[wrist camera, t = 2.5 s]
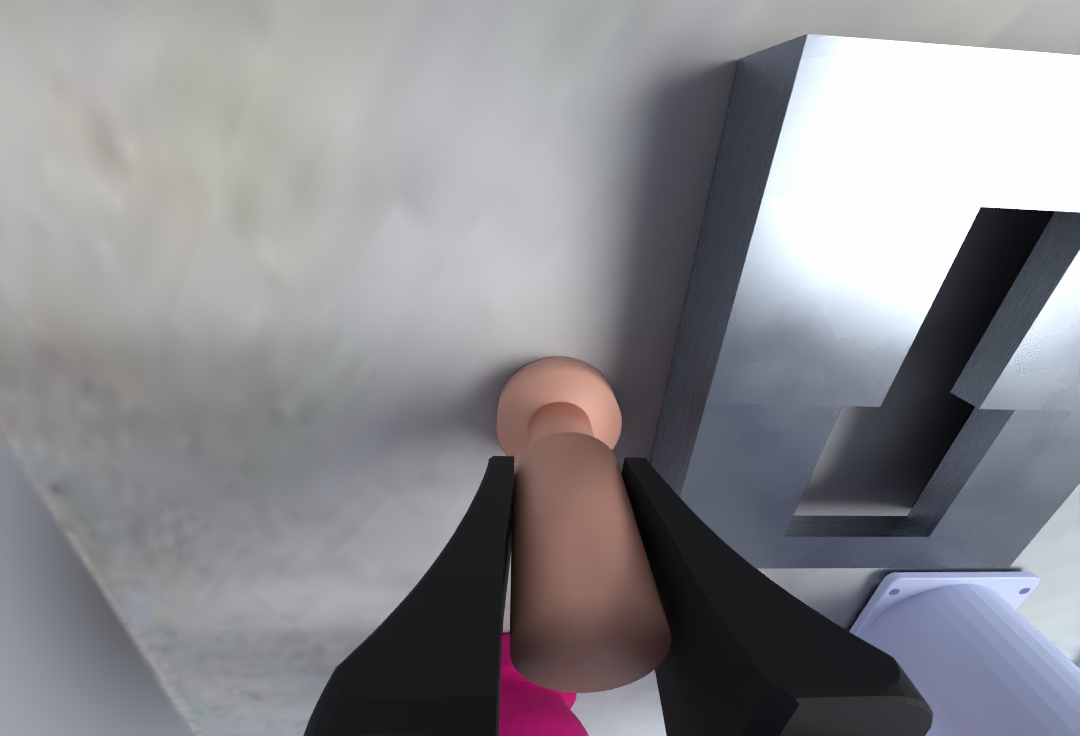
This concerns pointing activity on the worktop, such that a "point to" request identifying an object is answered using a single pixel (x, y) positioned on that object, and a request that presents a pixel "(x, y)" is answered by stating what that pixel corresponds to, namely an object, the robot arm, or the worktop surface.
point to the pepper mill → (533, 705)
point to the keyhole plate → (877, 297)
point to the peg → (575, 536)
